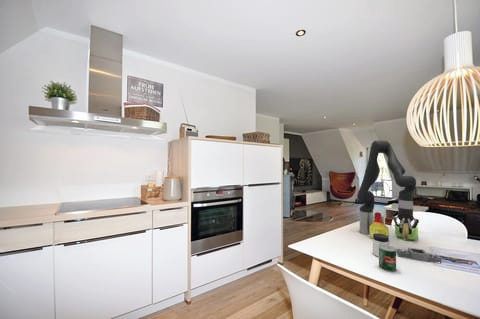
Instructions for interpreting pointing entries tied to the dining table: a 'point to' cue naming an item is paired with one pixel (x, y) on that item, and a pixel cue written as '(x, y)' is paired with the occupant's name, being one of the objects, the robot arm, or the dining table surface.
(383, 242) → the jar
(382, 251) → the canned tomato
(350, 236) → the dining table surface
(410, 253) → the bolt keeper plate
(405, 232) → the pin
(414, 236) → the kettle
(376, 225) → the bottle
